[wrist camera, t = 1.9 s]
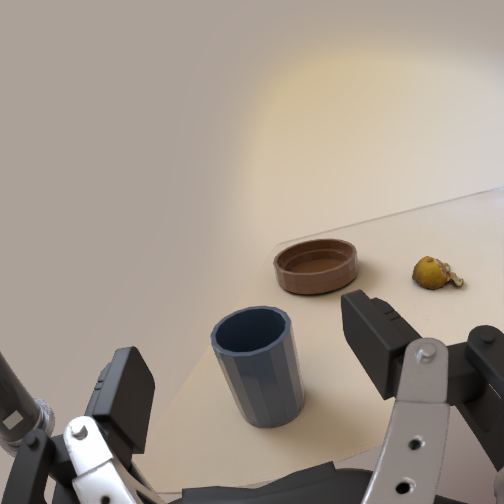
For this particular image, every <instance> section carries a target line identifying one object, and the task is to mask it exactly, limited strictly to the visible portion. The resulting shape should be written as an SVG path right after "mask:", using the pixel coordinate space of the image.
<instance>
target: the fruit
mask: <svg viewBox="0 0 504 504" xmlns="http://www.w3.org/2000/svg"><path fill="white" fill-rule="evenodd" d="M449 270H450V266H449V265H448V264H447V263H442V262H440V261H439V260H438V259H434V258H432V257H429V256H426V257H424V258H422V259H421V260H420V261H419V262H418V263H417V264H416V266H415V267H414V270H413V275H412V279H413V280H415V281H417V282H418V283H420V284H421V286H423V288H424V287H425V288H426V287H427V288H429V289H434V290H435V289H436V288H439V287H442V286H443V285H444V283H445V282H446V281H449V280H450V279H453V280H454V281H455V284H456V285H457V287H459V286H461V285H462V284H463V279H460V278H458V277H457V276H456V274H455V273H448V274H447V271H449Z"/></svg>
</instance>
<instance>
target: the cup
mask: <svg viewBox="0 0 504 504" xmlns="http://www.w3.org/2000/svg"><path fill="white" fill-rule="evenodd" d="M210 337H211V344H212V347H213V350H214V352H215V355H216V357H217V359H218V362H219V364H220V367H221V369H222V372H223V374H224V376H225V379H226V381H227V384H228V386H229V388H230V390H231V393H232V395H233V397H234V400H235V402H236V404H237V406H238V409H239V411H240V413H241V414H242V416H243V418H244V419H245V420H246V421H247V422H249V423H250V424H252V425H254V426H257V427H262V428H273V427H278V426H282V425H284V424H286V423H288V422H290V421H292V420H293V419H294V418H295V417H297V415H298V414H299V413H300V412H301V410H302V408H303V406H304V401H305V397H304V388H303V382H302V377H301V371H300V366H299V360H298V355H297V349H296V344H295V339H294V333H293V328H292V323H291V320H290V318H289V316H288V315H287V313H286V312H284V311H282V310H280V309H278V308H276V307H269V306H256V307H248V308H245V309H242V310H238V311H235V312H233V313H232V314H230V315H228V316H226V317H224V318H223V319H222V320H221V321H220V322H219V323H218V324H217V325H215V327H214V329H213V331H212V333H211V336H210Z"/></svg>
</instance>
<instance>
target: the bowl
mask: <svg viewBox="0 0 504 504" xmlns="http://www.w3.org/2000/svg"><path fill="white" fill-rule="evenodd" d="M273 264H274V269H275V273H276V278H277V281H278V283H279V285H280V287H282V288H284V289H285V290H287V291H290V292H294V293H298V294H318V293H325V292H329V291H332V290H335V289H338V288H341V287H342V286H344V285H346V284H348V283H350V282H351V281H352V280H353V279H354V278H355V277H356V274H357V271H358V261H357V251H356V248H355V246H353V245H352V244H351V243H349V242H346V241H343V240H337V239H317V240H310V241H305V242H302V243H298V244H295V245H293V246H290V247H288V248H286V249H284V250H283V251H281V252H280V253H279V254H278V255H277V256H276V257H275V259H274V263H273Z"/></svg>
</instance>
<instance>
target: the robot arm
mask: <svg viewBox="0 0 504 504" xmlns="http://www.w3.org/2000/svg"><path fill="white" fill-rule="evenodd" d="M341 309H342V321H343V331H344V335H345V338H346V341H347V343H348V344H349V346H350V347H351V349H352V350H353V352H354V354H355V355H356V357H357V358H358V360H359V361H360V363H361V365H362V366H363V368H364V369H365V371H366V372H367V374H368V376H369V377H370V379H371V380H372V382H373V384H374V385H375V387H376V388H377V390H378V392H379V393H380V395H381V396H382V398H383V400H387V399H389V398H391V397H393V396H394V397H395V399H396V400H395V403H394V406H393V410H392V414H391V418H390V422H389V425H388V429H387V432H386V436H385V439H384V442H383V445H382V449H381V452H380V455H379V458H378V461H377V464H376V466H375V469H374V472H373V471H370V470H364V469H354V468H342V469H335V467H334V464H333V461H331V462H328V463H325V464H321V465H318V466H315V467H311V468H308V469H304V470H300V471H296V472H294V473H292V474H290V475H287V476H285V477H283V478H281V479H279V480H276V481H274V482H272V483H270V484H267V485H265V486H263V487H260V488H256V489H248V488H233V487H222V486H212V487H201V488H186V489H182V498H180V499H177V500H174V501H173V502H170V503H168V504H467V503H463V502H460V501H456V500H452V499H449V498H445V497H442V496H439V495H436V491H437V487H438V482H439V478H440V473H441V469H442V463H443V458H444V452H445V446H446V440H447V432H448V424H449V414H450V406H453V405H455V406H456V407H457V409H458V410H459V412H460V413H461V415H462V416H463V418H464V419H465V421H466V422H467V424H468V425H469V427H470V428H471V430H472V431H473V433H474V434H475V436H476V437H477V439H478V441H479V442H480V444H481V445H482V447H483V449H484V450H485V452H486V453H487V455H488V457H489V458H490V460H491V461H492V463H493V465H494V467H495V468H496V470H497V472H498V474H497V475H496V478H495V481H494V495H495V497H496V499H497V500H496V504H504V334H503V333H502V332H501V331H500V330H499V329H497V328H495V327H493V326H488V325H482V326H478V327H475V328H474V329H472V330H471V332H470V333H469V336H468V340H467V342H463V343H459V344H454V345H450V346H446V345H445V344H444V343H442V342H441V341H439V340H437V339H434V338H422V337H421V336H420V335H419V334H418V333H417V332H416V331H415V330H414V329H413V328H412V327H411V326H410V325H409V324H408V322H407V321H406V320H405V319H404V318H403V317H401V315H399V314H398V313H397V312H396V311H395V310H394V309H393V308H392V307H391V306H390V305H389V304H388V303H387V302H385V301H383V300H380V299H378V298H373V299H370V298H369V297H368V296H367V295H366V294H365V293H364V292H363V291H362V290H356V291H353V292H350V293H347V294H344V295H342V296H341ZM489 384H490V385H491V386H492V387H493V388H492V387H491V386H490V385H489ZM94 389H95V391H93V393H92V396H91V399H90V401H89V403H88V406H87V409H86V411H85V414H84V416H81V417H78V418H76V419H74V420H72V421H71V422H70V423H69V424H68V425H67V426H66V428H65V430H64V434H61V435H58V436H54V437H49V436H48V435H47V434H46V433H45V431H44V430H42V429H39V428H40V426H41V424H42V420H43V410H42V408H41V407H40V405H39V404H38V403H37V402H36V401H35V400H34V399H33V398H32V397H31V395H30V394H29V392H28V391H27V390H26V388H25V387H24V386H23V384H22V383H21V382H20V380H19V379H18V378H17V376H16V375H15V373H14V372H13V370H12V369H11V367H10V366H9V365H8V363H7V361H6V360H5V358H4V357H3V355H2V354H1V352H0V436H1V437H2V439H3V440H4V441H5V442H6V443H7V444H9V445H12V446H18V445H20V447H19V449H18V452H17V455H16V457H15V461H14V463H13V466H12V469H11V472H10V475H9V478H8V481H7V485H6V488H5V491H4V495H3V498H2V503H1V504H47V503H46V501H45V498H44V490H45V487H46V482H47V478H48V475H49V476H50V477H51V478H52V479H54V480H55V481H56V486H55V490H54V495H53V500H52V504H167V503H166V502H164V501H163V500H162V499H161V498H160V497H159V496H158V494H157V493H156V492H155V491H154V489H153V488H152V487H151V485H150V484H149V483H148V481H147V480H146V479H145V477H144V476H143V474H142V473H141V472H140V470H139V469H138V467H137V466H136V464H135V463H134V462H133V461H132V460H131V459H132V454H144V450H145V443H146V437H147V431H148V424H149V419H150V413H151V407H152V402H153V396H154V390H155V383H154V378H153V376H152V374H151V372H150V371H149V369H148V367H147V365H146V363H145V362H144V360H143V358H142V356H141V354H140V352H139V351H138V349H137V348H136V347H134V346H132V347H127V348H122V349H117V350H116V351H115V354H114V356H113V359H112V361H111V363H108V364H107V366H106V367H105V368H104V369H103V370H102V371H101V374H100V376H99V378H98V383H96V386H95V388H94ZM493 389H494V390H495V391H496V392H497V393H498V395H499V396H500V397H501V398H500V397H499V396H498V395H497V393H496V392H495V391H494V390H493ZM501 399H502V400H501Z"/></svg>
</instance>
